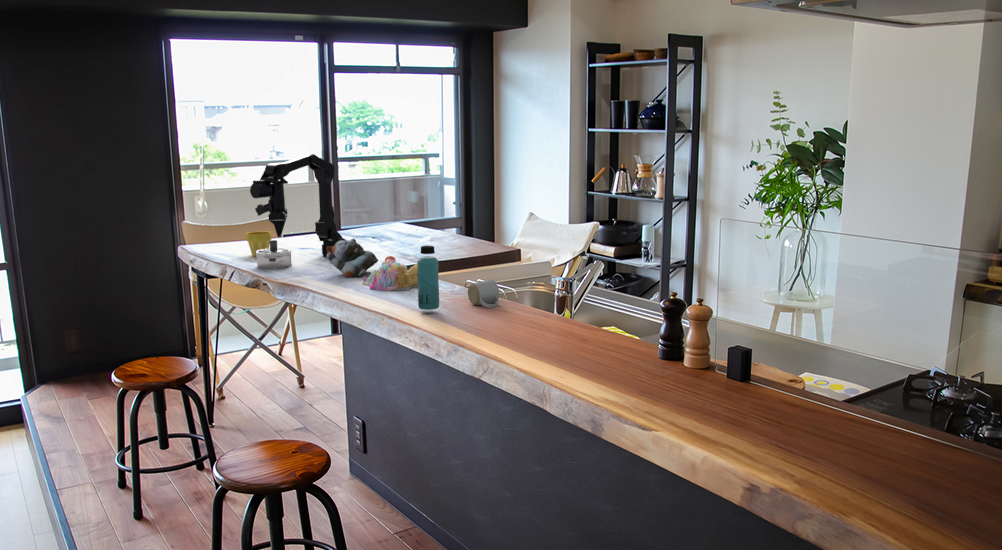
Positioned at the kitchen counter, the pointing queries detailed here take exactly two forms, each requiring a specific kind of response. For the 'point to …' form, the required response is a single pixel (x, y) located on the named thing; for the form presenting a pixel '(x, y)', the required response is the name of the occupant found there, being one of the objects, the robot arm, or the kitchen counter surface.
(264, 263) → the pot
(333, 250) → the grey teddy bear
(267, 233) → the plant pot
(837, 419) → the kitchen counter surface
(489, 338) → the kitchen counter surface
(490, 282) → the ceramic mug
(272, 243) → the lid
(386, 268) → the pastel plush toy
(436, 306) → the beverage bottle
